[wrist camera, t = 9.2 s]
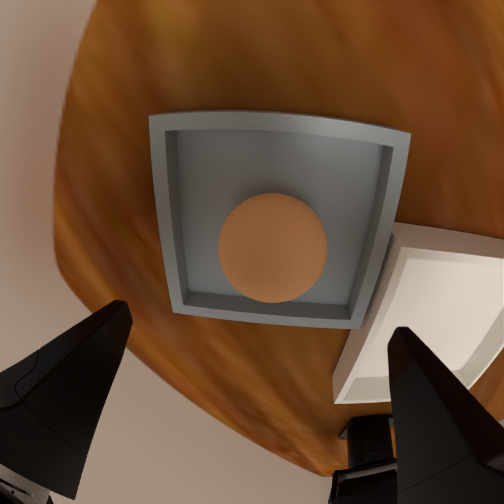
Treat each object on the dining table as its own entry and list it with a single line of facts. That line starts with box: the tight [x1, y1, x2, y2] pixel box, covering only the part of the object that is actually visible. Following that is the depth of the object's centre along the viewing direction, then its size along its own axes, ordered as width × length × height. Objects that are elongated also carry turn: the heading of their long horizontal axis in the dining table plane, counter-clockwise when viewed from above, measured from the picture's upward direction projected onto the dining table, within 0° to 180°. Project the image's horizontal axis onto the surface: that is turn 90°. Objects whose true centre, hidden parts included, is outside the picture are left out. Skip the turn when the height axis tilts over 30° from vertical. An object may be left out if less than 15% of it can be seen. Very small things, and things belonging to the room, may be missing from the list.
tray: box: [149, 110, 411, 329], centre depth 15 cm, size 12×12×2 cm
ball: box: [218, 193, 328, 303], centre depth 13 cm, size 5×5×5 cm
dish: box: [332, 222, 504, 404], centre depth 17 cm, size 15×15×3 cm
